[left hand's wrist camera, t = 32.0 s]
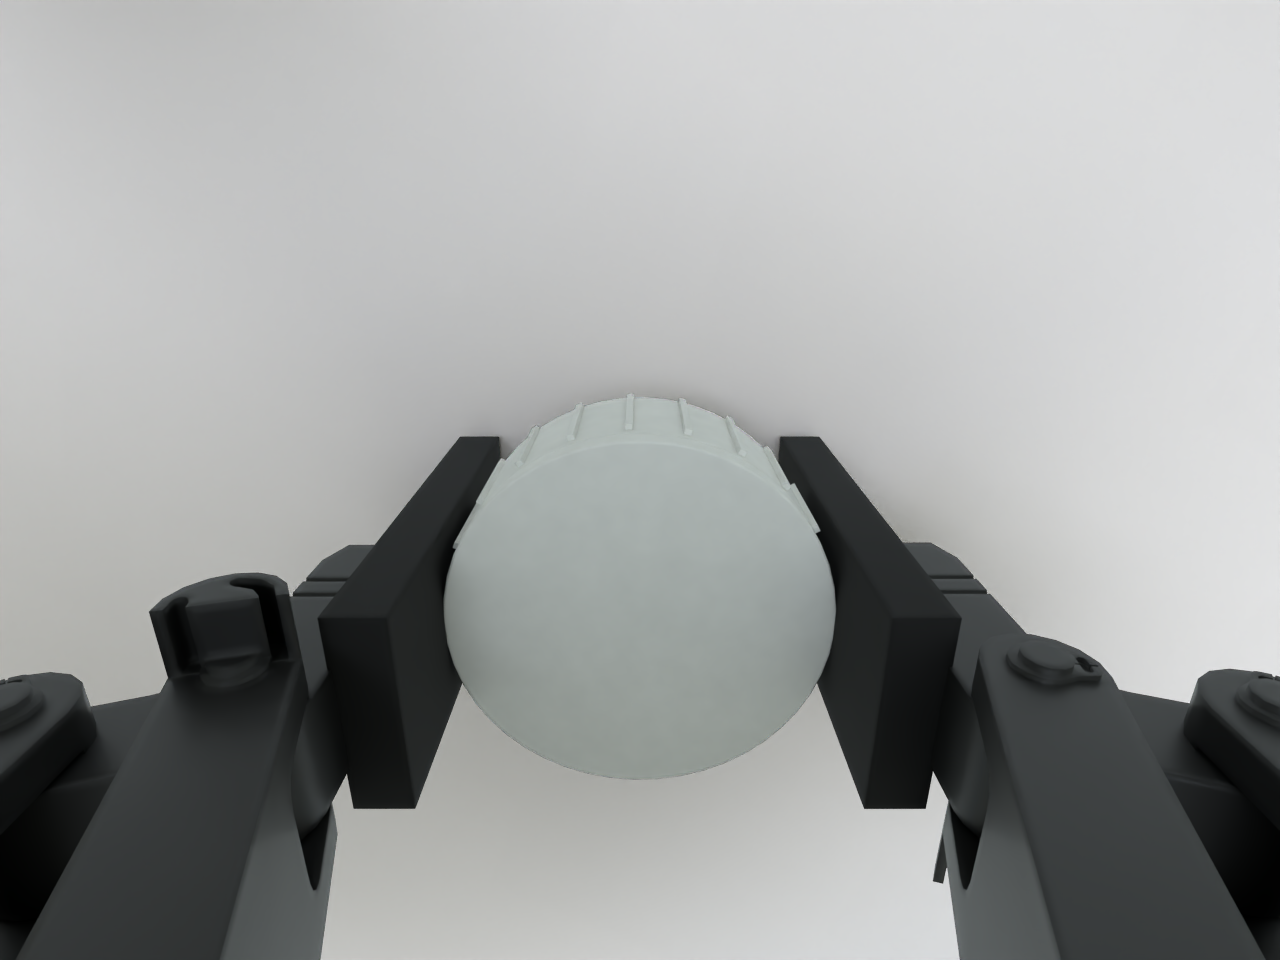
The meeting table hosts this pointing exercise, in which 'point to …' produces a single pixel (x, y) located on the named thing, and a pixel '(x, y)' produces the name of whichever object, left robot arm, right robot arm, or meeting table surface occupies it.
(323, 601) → the left robot arm
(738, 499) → the lid
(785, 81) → the meeting table surface
